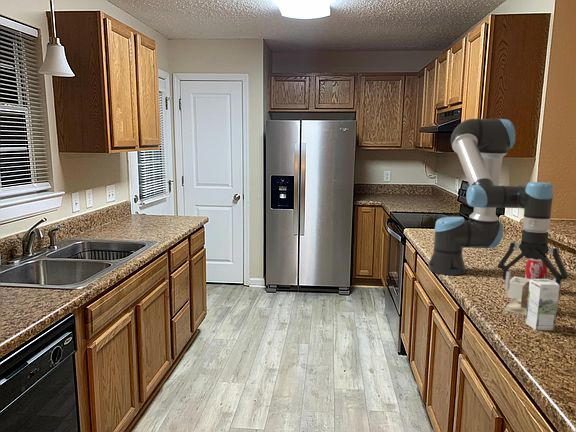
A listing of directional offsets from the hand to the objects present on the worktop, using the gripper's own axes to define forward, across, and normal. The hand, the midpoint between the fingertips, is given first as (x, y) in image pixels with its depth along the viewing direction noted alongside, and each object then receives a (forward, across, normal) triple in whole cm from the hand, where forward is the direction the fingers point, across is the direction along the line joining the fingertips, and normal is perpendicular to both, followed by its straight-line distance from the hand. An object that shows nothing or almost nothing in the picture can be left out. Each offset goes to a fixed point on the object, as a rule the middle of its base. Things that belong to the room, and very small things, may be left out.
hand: (529, 294), depth 147 cm
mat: (+6, 0, 0) cm, 6 cm away
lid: (+5, 0, 0) cm, 5 cm away
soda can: (+6, -3, +26) cm, 27 cm away
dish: (+6, -4, +13) cm, 15 cm away
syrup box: (+6, +6, -14) cm, 16 cm away
